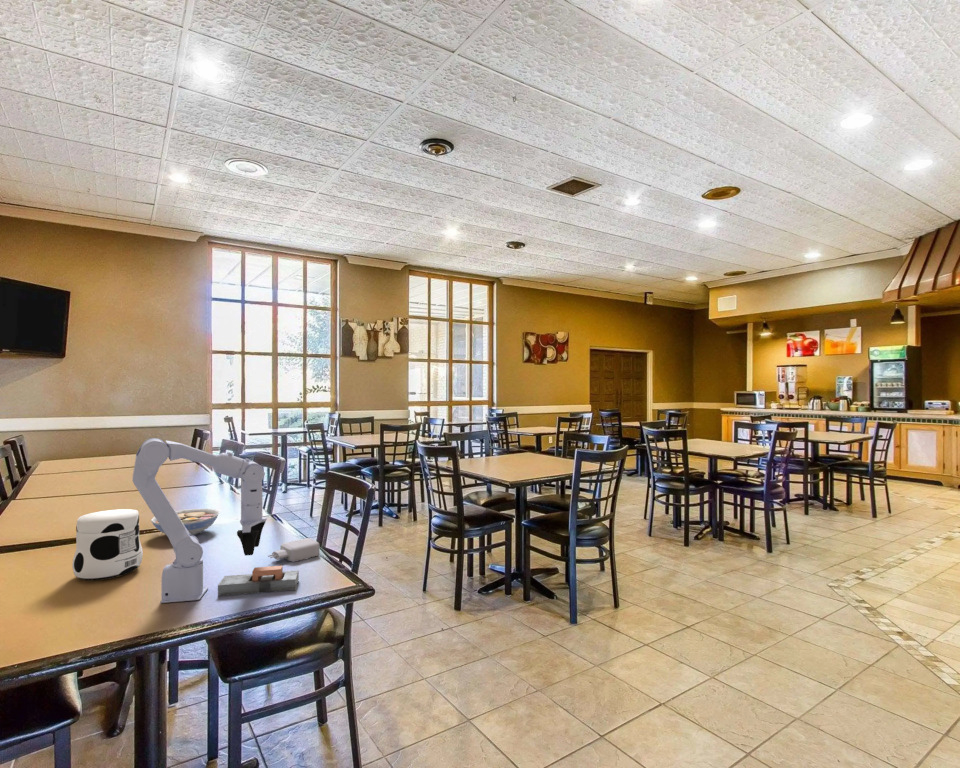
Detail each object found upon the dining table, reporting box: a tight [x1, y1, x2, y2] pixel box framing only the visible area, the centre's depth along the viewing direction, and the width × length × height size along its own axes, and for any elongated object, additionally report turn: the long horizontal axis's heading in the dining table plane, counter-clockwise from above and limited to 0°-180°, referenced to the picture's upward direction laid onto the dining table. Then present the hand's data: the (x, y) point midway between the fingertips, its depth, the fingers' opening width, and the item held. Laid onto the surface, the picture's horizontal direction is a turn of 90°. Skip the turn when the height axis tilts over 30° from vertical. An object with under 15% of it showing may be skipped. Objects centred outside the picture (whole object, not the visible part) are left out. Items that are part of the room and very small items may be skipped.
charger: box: [267, 537, 320, 562], centre depth 171 cm, size 5×9×15 cm
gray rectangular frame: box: [217, 570, 300, 597], centre depth 146 cm, size 20×7×3 cm, turn 102°
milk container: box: [71, 508, 144, 581], centre depth 157 cm, size 17×17×18 cm
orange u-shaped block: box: [251, 565, 284, 581], centre depth 146 cm, size 8×3×6 cm, turn 102°
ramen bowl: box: [150, 508, 220, 536], centre depth 198 cm, size 25×23×8 cm
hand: (251, 550), depth 150 cm, fingers open, 7 cm apart
